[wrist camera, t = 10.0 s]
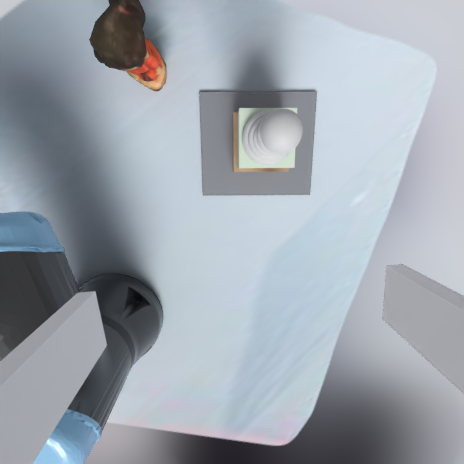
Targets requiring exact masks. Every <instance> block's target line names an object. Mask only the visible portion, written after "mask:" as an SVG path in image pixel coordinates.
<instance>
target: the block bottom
mask: <svg viewBox="0 0 464 464" xmlns="http://www.w3.org/2000/svg"><path fill="white" fill-rule="evenodd" d="M237 117H238V112H233V172H289V168H238V120H237Z"/></svg>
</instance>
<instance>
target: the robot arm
mask: <svg viewBox="0 0 464 464" xmlns="http://www.w3.org/2000/svg"><path fill="white" fill-rule="evenodd" d="M64 252H65V249H64V247H61V245H60V243H59V241H58V239H57V237H56V235H55V233H54V231H53V229H52V227H51V225H50V223H49V222H48V220H47V219H46V218H44V217H43V216H41V215H39V214H37V213H33V212H9V213H0V464H84V463H85V461H86V459H87V457H88V456H89V454H90V452H91V450H92V448H93V446H94V445H95V444H96V442H97V441H98V440H99V439H100V437H101V434H102V430H103V428H104V426H105V424H106V422H107V419H108V417H109V415H110V413H111V411H112V408H113V406H114V404H115V402H116V400H117V398H118V395H119V393H120V391H121V389H122V387H123V385H124V382H125V380H126V378H127V376H128V374H129V371H130V369H131V367H132V366H133V365H134V364H135V363H136V362H137V361H138V360H139V359H140V358H141V357H142V356H143V355H144V354H146V353H147V352H148V351H149V350H150V349H151V348H152V346H153V345H154V343H155V342H156V340H157V338H158V335H159V333H160V330H161V328H162V323H163V313H162V308H161V305H160V303H159V301H158V299H157V297H156V296H155V294H154V293H153V292H152V291H151V290H150V289H149V288H148V287H147V286H146V285H145V284H143V283H142V282H140V281H138V280H137V279H134V278H132V277H129V276H126V275H120V274H105V275H101V276H97V277H95V278H92V279H90V280H89V281H87V282H86V283H85V284H83V285H82V286H81V287H80V288H78V286H77V284H76V281H75V279H74V276H73V274H72V271H71V269H70V266H69V264H68V261H67V259H66V256H65V253H64ZM382 319H383V320H384V321H385V322H386V323H387V324H388V325H389V326H390V327H391V328H392V329H394V330H395V331H396V332H397V333H398V334H399V335H400V336H401V337H402V338H403V339H404V340H406V341H407V342H408V343H409V344H410V345H411V346H412V347H413V348H414V349H415V350H416V351H417V352H419V353H420V354H421V355H422V356H423V357H424V358H425V359H426V360H427V361H428V362H430V363H431V364H432V365H433V366H434V367H435V368H436V369H437V370H438V371H439V372H440V373H441V374H442V375H444V376H445V377H446V378H447V379H448V380H449V381H450V382H451V383H452V384H454V386H456V387H457V388H458V389H459V390H460V391H461V392H462V393H463V394H464V296H463V295H461V294H459V293H457V292H455V291H453V290H451V289H449V288H447V287H446V286H444V285H442V284H440V283H438V282H436V281H434V280H432V279H430V278H428V277H426V276H424V275H422V274H421V273H419V272H417V271H415V270H413V269H411V268H409V267H407V266H405V265H403V264H399V265H388V266H386V277H385V290H384V304H383V316H382Z"/></svg>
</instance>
